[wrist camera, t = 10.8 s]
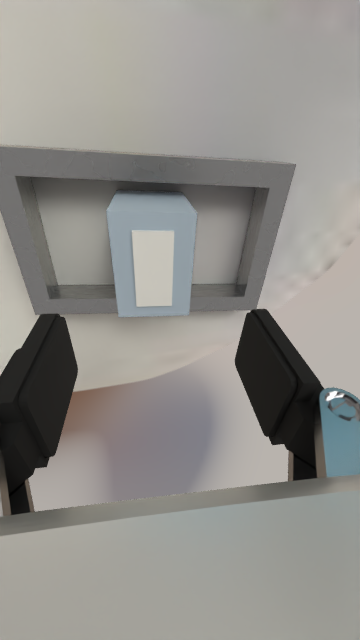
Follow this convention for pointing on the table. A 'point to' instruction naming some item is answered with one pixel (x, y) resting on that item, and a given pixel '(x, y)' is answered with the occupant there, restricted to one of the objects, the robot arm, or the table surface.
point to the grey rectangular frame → (25, 162)
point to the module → (152, 252)
